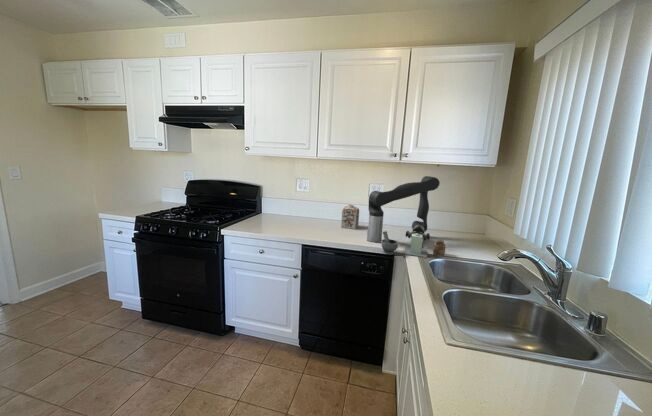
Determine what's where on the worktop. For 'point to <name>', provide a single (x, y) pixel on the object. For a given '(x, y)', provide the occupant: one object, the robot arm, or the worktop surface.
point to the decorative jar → (350, 217)
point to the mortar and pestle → (388, 244)
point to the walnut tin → (439, 248)
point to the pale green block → (416, 243)
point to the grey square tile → (423, 253)
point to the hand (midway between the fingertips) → (417, 238)
